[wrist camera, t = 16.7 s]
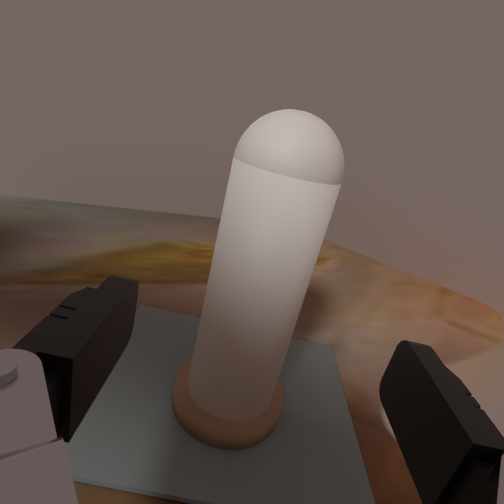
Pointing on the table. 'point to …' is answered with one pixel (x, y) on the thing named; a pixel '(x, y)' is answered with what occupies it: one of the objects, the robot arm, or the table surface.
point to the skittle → (259, 278)
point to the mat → (211, 458)
